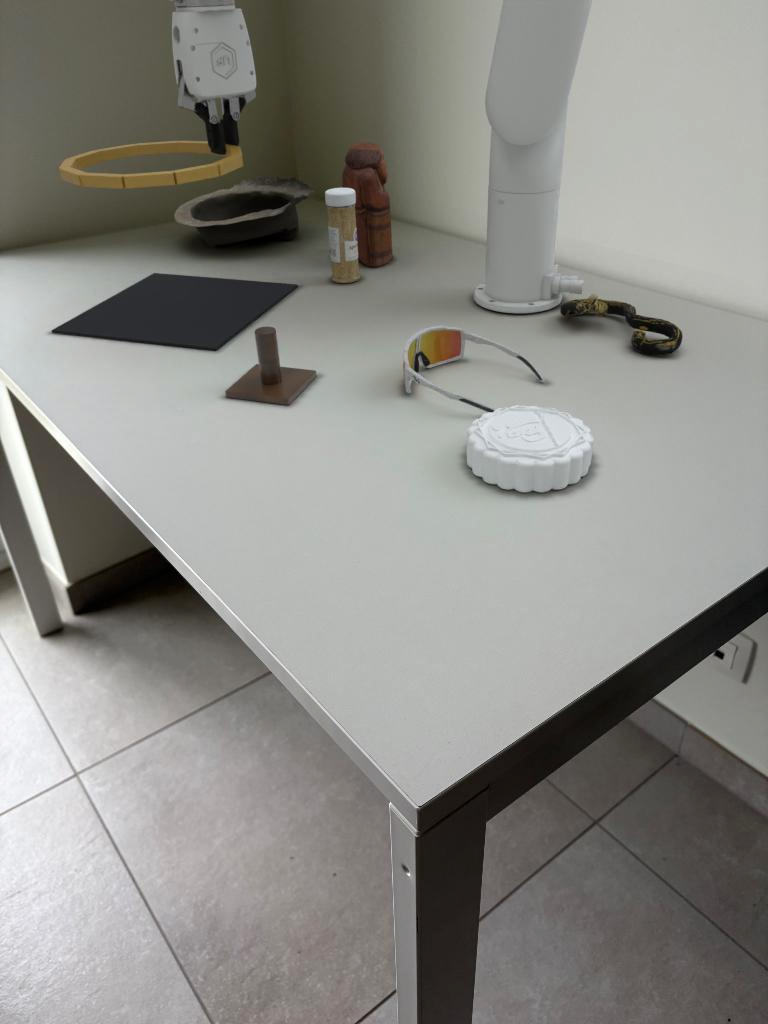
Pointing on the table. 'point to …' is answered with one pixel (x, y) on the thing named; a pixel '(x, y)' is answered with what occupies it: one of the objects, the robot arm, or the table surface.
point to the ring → (152, 179)
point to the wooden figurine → (369, 202)
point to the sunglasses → (446, 356)
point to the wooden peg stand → (270, 375)
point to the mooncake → (529, 448)
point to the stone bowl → (246, 210)
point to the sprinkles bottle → (342, 234)
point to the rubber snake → (630, 323)
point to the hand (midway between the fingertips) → (225, 151)
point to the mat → (179, 311)
